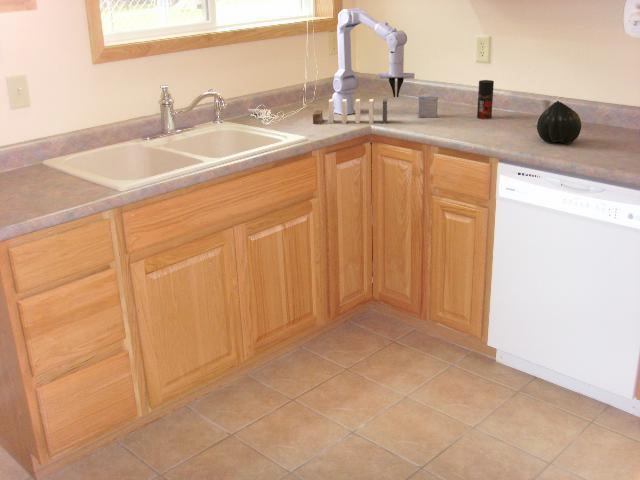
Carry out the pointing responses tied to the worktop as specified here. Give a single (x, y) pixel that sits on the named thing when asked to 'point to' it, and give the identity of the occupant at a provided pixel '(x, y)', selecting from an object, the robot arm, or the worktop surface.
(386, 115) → the domino
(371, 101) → the domino
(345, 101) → the domino
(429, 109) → the medicine box
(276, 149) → the worktop surface
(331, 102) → the domino
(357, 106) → the domino
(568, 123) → the squash
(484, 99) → the deodorant
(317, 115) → the block
